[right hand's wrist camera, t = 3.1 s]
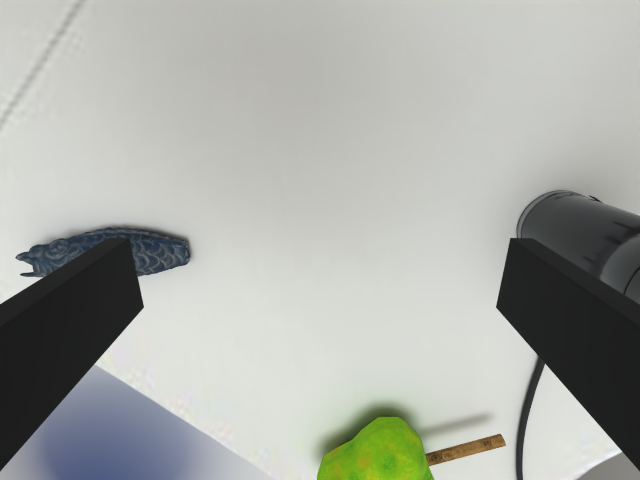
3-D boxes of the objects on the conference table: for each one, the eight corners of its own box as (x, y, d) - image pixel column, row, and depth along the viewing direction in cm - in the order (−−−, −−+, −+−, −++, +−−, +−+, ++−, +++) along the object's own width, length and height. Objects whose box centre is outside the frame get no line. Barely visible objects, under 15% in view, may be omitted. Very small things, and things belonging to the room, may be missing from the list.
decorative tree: (530, 511, 51) (337, 559, 54) (494, 446, 61) (332, 490, 64) (513, 428, 45) (296, 487, 48) (477, 371, 55) (298, 422, 58)
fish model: (26, 228, 46) (-7, 242, 41) (186, 221, 46) (171, 235, 41) (43, 273, 48) (14, 292, 44) (195, 267, 48) (182, 285, 43)
